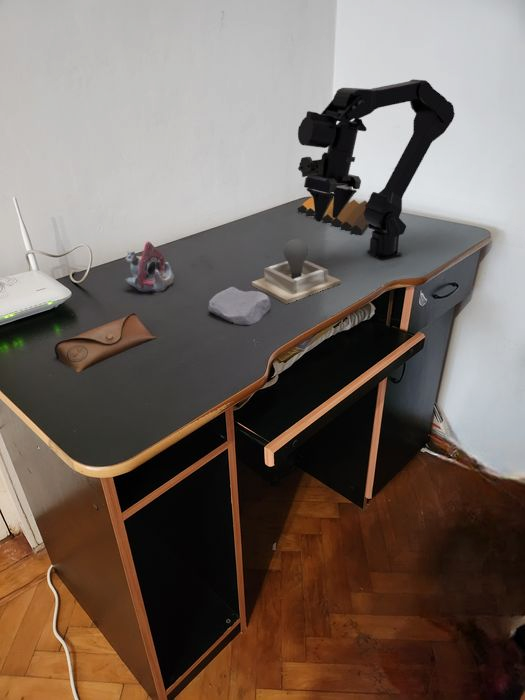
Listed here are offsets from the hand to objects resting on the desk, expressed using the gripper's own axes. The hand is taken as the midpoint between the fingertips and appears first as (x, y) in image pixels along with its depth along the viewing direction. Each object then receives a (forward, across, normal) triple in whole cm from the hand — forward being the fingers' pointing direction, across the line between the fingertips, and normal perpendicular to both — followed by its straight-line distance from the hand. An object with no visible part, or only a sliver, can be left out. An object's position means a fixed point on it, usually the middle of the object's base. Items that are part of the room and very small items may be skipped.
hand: (326, 219), depth 126 cm
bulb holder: (+15, +9, 0) cm, 17 cm away
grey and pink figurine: (+21, +25, -30) cm, 44 cm away
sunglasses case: (+25, +50, -18) cm, 59 cm away
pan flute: (+8, -39, -15) cm, 43 cm away
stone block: (+19, +27, -4) cm, 33 cm away
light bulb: (+14, +9, 0) cm, 17 cm away
